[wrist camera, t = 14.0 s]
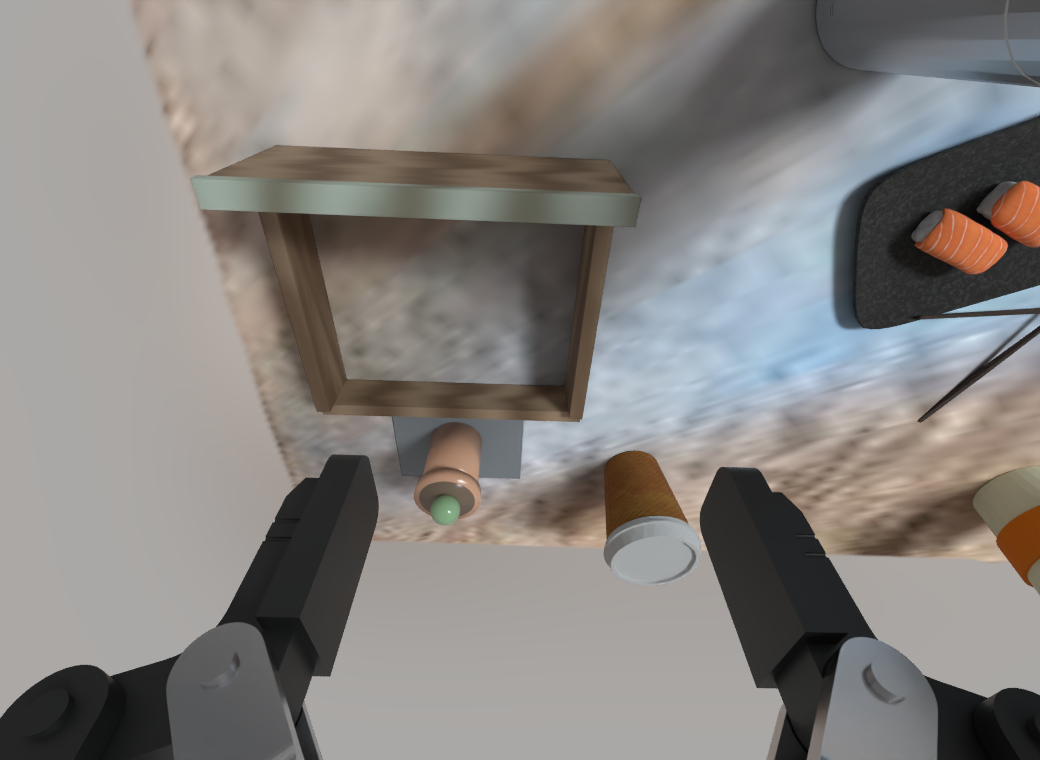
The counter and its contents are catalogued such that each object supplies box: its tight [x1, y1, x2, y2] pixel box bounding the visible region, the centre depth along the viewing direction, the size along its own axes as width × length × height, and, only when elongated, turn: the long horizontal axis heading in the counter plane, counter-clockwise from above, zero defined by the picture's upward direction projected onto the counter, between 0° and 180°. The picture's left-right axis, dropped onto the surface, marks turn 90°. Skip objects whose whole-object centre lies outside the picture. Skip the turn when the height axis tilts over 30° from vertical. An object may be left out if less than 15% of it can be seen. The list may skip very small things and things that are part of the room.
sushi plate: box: [853, 117, 1040, 422], centre depth 39 cm, size 29×30×4 cm
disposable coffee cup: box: [604, 451, 701, 586], centre depth 49 cm, size 10×10×12 cm
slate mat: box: [392, 416, 524, 479], centre depth 51 cm, size 14×12×1 cm
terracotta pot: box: [414, 422, 482, 525], centre depth 47 cm, size 6×6×11 cm
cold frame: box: [190, 145, 641, 422], centre depth 36 cm, size 24×23×11 cm
